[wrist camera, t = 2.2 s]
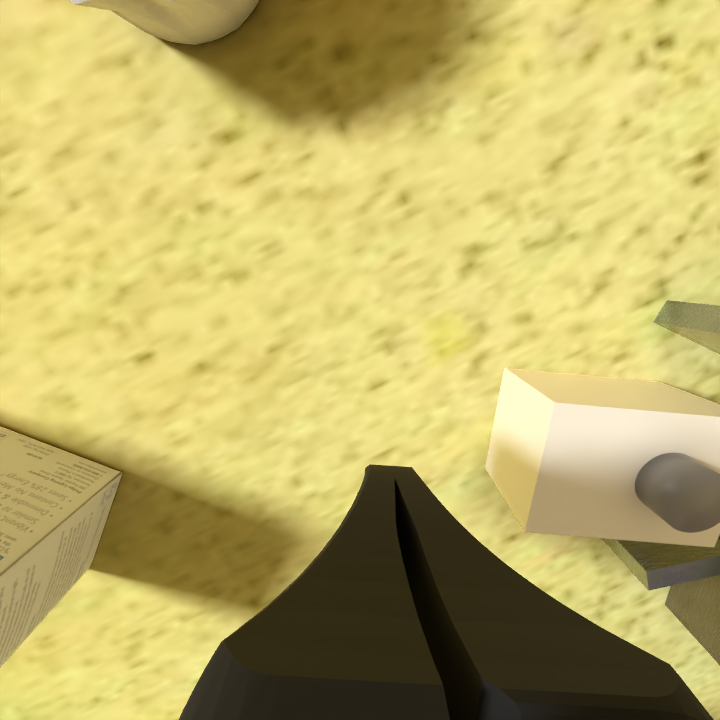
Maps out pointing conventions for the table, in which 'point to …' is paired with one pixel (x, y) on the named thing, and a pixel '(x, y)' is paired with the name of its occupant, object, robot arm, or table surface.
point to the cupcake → (180, 17)
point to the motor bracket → (672, 561)
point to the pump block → (607, 457)
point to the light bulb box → (45, 529)
